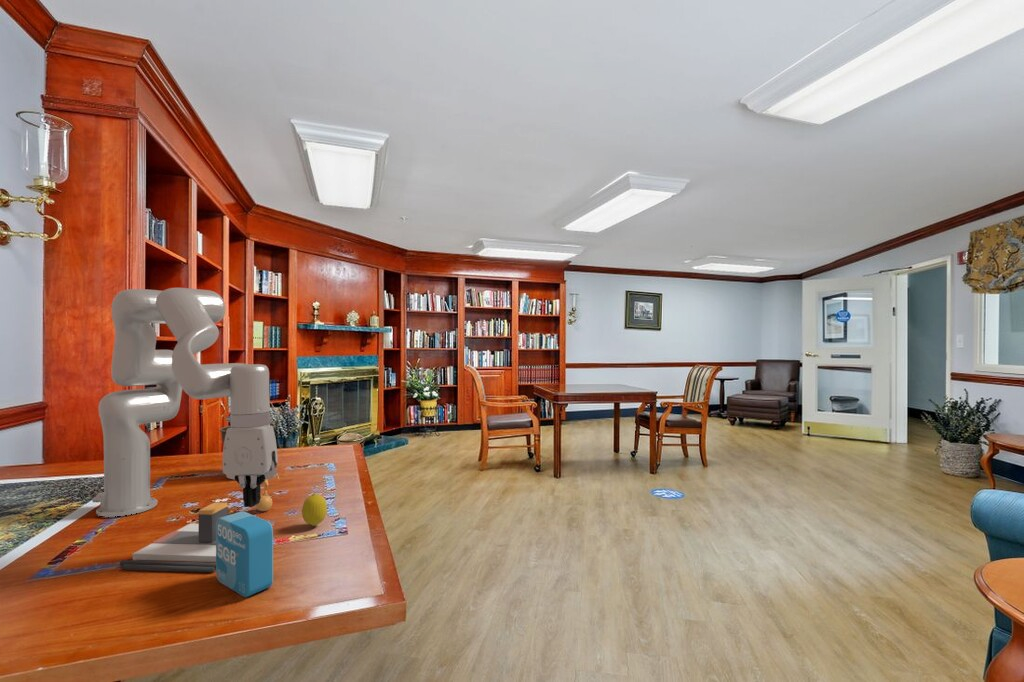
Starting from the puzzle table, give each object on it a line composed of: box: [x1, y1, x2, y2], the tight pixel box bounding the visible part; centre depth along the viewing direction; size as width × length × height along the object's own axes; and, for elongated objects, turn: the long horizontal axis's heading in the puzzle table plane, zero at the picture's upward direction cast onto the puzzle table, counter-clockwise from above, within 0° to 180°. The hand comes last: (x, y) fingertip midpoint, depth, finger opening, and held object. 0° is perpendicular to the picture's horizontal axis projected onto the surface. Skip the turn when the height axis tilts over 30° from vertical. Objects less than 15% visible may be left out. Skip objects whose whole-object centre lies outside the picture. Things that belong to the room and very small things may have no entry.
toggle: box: [198, 502, 228, 542], centre depth 104 cm, size 3×5×7 cm, turn 176°
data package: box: [215, 510, 274, 598], centre depth 87 cm, size 12×4×12 cm, turn 55°
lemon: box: [301, 492, 328, 527], centre depth 114 cm, size 6×6×8 cm
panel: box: [132, 522, 216, 563], centre depth 104 cm, size 20×16×1 cm
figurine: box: [254, 474, 280, 512], centre depth 125 cm, size 8×6×12 cm
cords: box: [119, 559, 216, 574], centre depth 93 cm, size 20×3×1 cm, turn 86°
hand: (252, 504), depth 103 cm, fingers closed
